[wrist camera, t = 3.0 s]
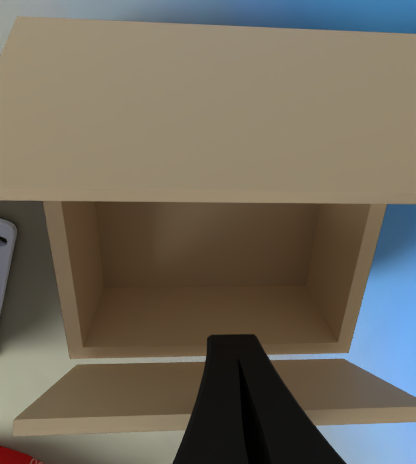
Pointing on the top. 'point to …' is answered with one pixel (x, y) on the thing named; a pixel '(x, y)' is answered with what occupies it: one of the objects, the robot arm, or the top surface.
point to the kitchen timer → (15, 457)
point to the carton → (209, 274)
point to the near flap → (206, 113)
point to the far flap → (186, 390)
